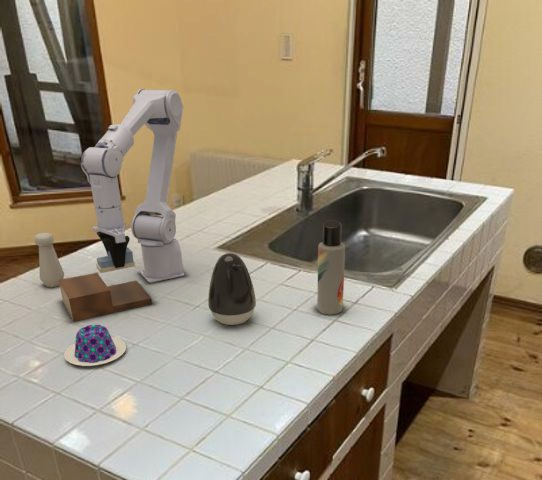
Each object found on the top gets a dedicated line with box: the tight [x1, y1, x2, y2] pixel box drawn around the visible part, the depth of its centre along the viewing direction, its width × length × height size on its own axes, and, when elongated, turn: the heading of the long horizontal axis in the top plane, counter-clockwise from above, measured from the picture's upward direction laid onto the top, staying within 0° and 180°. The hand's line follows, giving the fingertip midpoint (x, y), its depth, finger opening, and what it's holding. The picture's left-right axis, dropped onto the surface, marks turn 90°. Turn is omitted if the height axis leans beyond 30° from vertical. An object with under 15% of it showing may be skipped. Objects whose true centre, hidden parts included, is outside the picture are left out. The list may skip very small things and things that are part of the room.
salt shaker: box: [34, 232, 65, 288], centre depth 149 cm, size 6×6×13 cm
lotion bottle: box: [316, 219, 346, 316], centre depth 131 cm, size 6×6×20 cm
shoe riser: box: [59, 272, 153, 322], centre depth 140 cm, size 18×12×6 cm, turn 117°
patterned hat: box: [63, 324, 127, 367], centre depth 120 cm, size 12×12×5 cm
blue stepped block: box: [96, 246, 136, 274], centre depth 138 cm, size 8×3×4 cm, turn 117°
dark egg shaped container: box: [207, 252, 257, 326], centre depth 129 cm, size 10×10×15 cm
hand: (117, 264), depth 139 cm, fingers closed on blue stepped block, 3 cm apart
